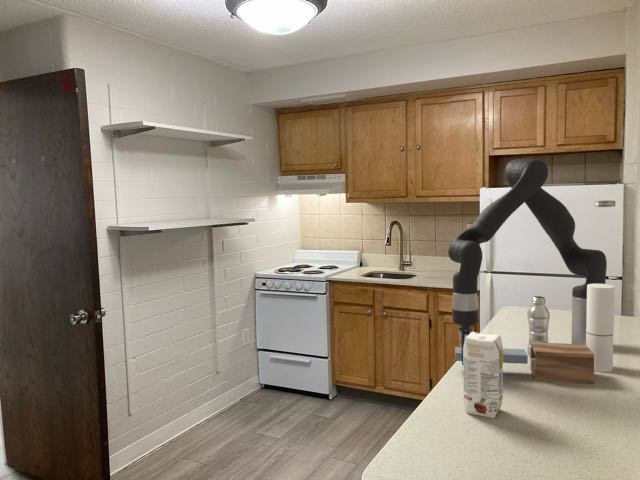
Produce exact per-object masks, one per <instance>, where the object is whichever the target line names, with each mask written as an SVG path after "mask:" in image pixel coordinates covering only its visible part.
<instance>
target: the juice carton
mask: <svg viewBox="0 0 640 480" xmlns="http://www.w3.org/2000/svg"><path fill="white" fill-rule="evenodd" d="M503 349H504V346H503V342H502V337H501V335H500V334H485V333H480V332H476V331H473V332H472V333H470V334H469V335H468V336H467V337H466V338H465V342H464V347H463V365H462V370H463V371H462V373H463V375H462V377H463V379H462V380H463V382H462V383H463V386H462V387H463V389H462V391H463V392H462V393H463V395H462V396H463V397H462V398H463V405H464V409H465V413H466V414H468V415H469V414H470V415H472V416H473V415H475V416H481V417H483V418H489V419H495V418H496V416H497V415H498V413H499V411H500V409H501V407H502V404H503V400H504V399H503V398H504V395H503V393H504V392H503V391H504V389H503V387H504V384H503V383H504V377H503V376H504V373H503V372H504V363H503Z"/></svg>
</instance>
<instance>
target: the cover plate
mask: <svg viewBox="0 0 640 480" xmlns="http://www.w3.org/2000/svg"><path fill="white" fill-rule="evenodd" d="M461 350H462V347H461V346H455V347H454V359H455V362H462V352H461ZM526 351H527V350H525V348H503V364H504V363H505V364H521V365H522V364H523V365H524V364H525V365H526V364H527V365H528V363H529V362H528V360H529V359H528V357H529V356H528V352H526Z"/></svg>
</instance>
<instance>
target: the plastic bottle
mask: <svg viewBox="0 0 640 480" xmlns="http://www.w3.org/2000/svg"><path fill="white" fill-rule="evenodd" d="M531 303H532V305H531V306H530V307H529V308H528V310H527V313H526V314H527V316H526V317H527V321H528V330H529V332H528V335H529V336H528V344H527V348H526V351H527V352H526V353H527V355H528V357H529V358H530V349H531V342H535V343H549V336H548V334H549V332H548V331H549V323H550V316H551V314H550V311H549V309H548V308H547V306H546V305H545V304H546V297H545V296H540V295H536V296H535V295H533V296H532V300H531Z"/></svg>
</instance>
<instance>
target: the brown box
mask: <svg viewBox="0 0 640 480" xmlns="http://www.w3.org/2000/svg"><path fill="white" fill-rule="evenodd" d="M529 358H530V360H529V361H530V367H529V368H530V372H531V374H532V376H533V378H534V380H535V382H556V383H557V382H558V383H573V384H574V383H576V384H593V385H594V384H595V380H594V378H595V374H594V373H595V371H594V353H593V352H592V351H591V350H590V349H589V348H588V347H587V346H586V345H585V344H572V343H561V342H560V343H558V342H548V343H535V342H531V349H530V357H529Z"/></svg>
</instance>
